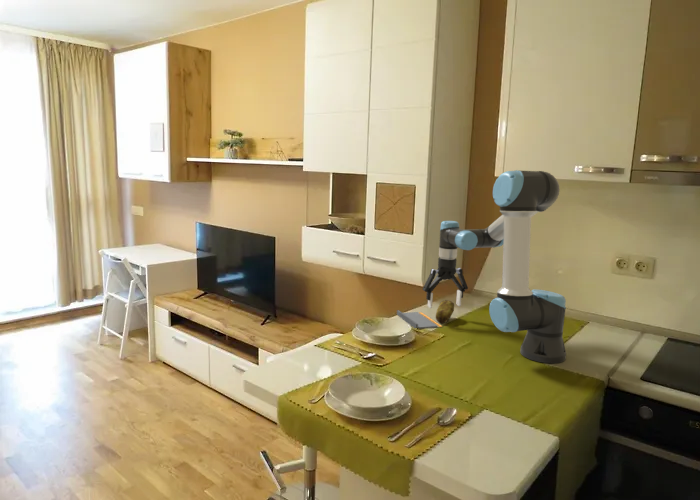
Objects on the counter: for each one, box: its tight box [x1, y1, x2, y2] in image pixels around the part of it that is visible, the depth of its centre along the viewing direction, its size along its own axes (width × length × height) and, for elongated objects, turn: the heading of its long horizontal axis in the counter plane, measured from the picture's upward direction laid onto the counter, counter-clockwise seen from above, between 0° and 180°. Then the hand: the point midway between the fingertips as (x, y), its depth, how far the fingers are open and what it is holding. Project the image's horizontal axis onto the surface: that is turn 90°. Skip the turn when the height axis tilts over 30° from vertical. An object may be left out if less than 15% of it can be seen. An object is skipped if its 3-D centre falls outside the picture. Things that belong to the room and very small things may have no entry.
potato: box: [435, 299, 455, 324], centre depth 219 cm, size 8×13×8 cm, turn 140°
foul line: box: [418, 311, 443, 328], centre depth 220 cm, size 20×1×1 cm, turn 17°
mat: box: [396, 309, 439, 330], centre depth 218 cm, size 20×10×2 cm, turn 17°
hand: (444, 306), depth 219 cm, fingers open, 13 cm apart
